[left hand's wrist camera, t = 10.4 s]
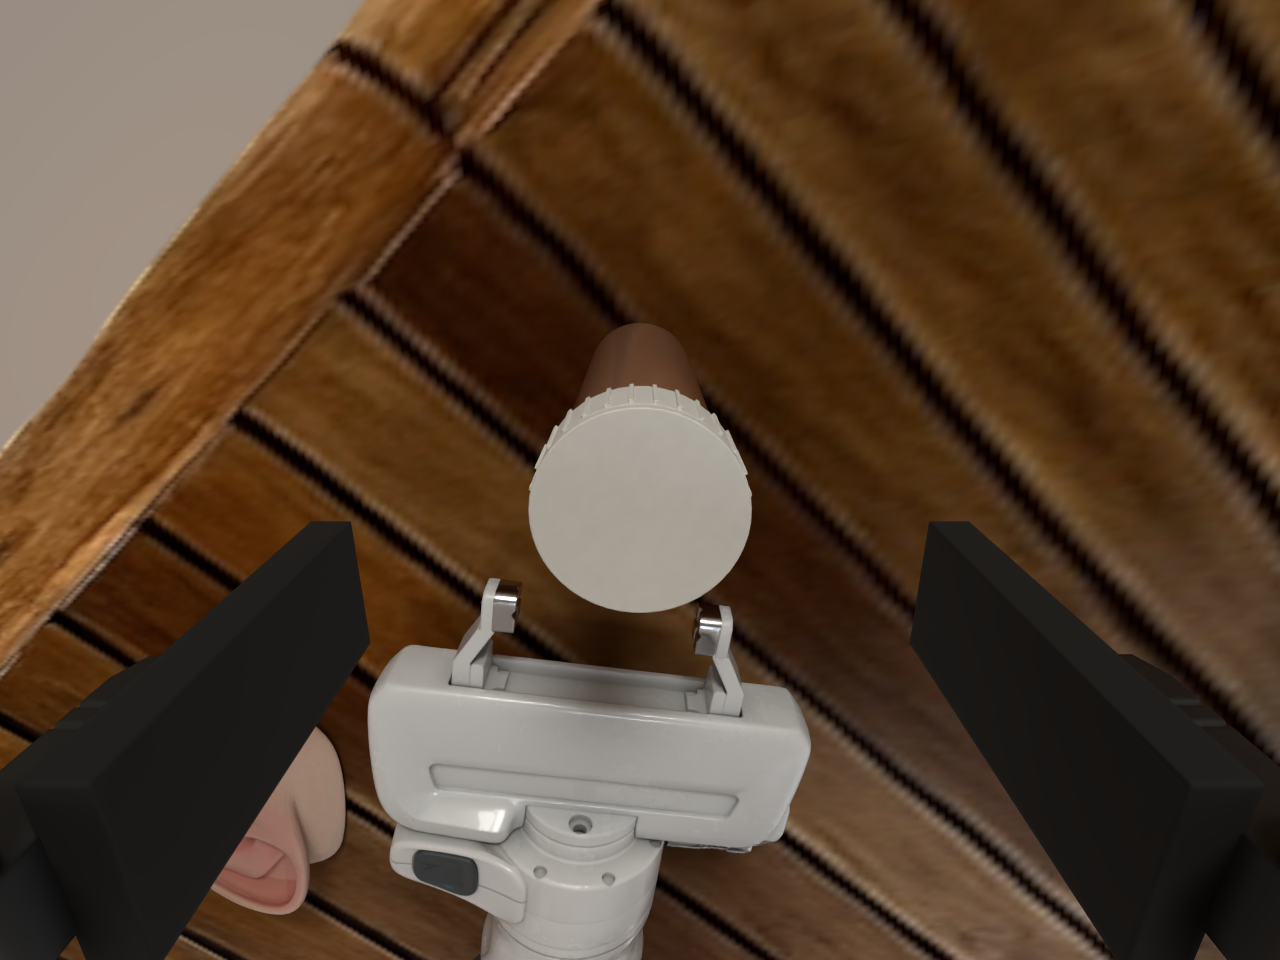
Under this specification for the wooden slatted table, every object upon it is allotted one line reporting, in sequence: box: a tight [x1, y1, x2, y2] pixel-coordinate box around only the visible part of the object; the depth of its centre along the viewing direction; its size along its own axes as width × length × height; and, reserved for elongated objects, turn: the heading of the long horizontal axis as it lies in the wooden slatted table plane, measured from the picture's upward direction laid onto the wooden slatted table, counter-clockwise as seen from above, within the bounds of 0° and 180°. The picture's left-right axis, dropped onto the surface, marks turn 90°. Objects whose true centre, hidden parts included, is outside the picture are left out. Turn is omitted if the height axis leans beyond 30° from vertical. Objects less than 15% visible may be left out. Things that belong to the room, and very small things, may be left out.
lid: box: [528, 384, 752, 613], centre depth 18 cm, size 6×6×2 cm
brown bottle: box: [572, 323, 708, 411], centre depth 25 cm, size 5×5×17 cm
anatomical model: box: [211, 727, 345, 915], centre depth 39 cm, size 13×4×12 cm
